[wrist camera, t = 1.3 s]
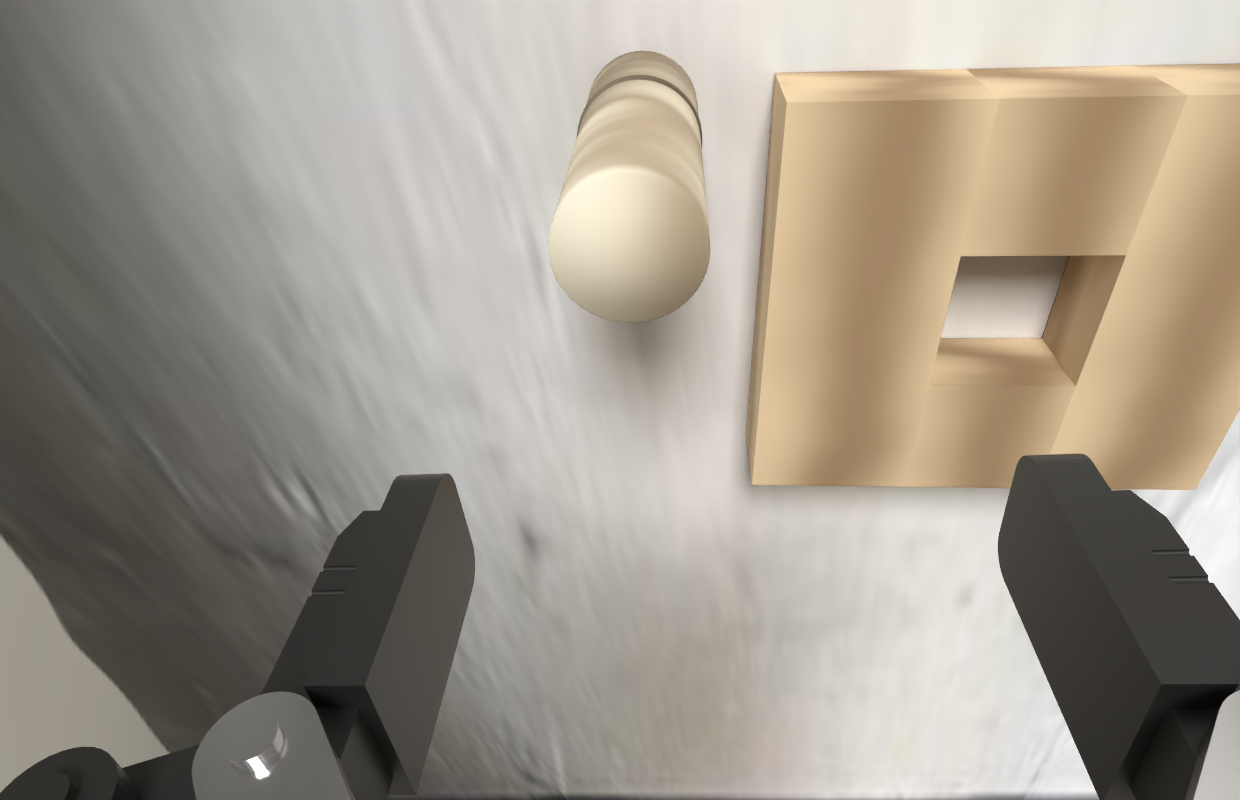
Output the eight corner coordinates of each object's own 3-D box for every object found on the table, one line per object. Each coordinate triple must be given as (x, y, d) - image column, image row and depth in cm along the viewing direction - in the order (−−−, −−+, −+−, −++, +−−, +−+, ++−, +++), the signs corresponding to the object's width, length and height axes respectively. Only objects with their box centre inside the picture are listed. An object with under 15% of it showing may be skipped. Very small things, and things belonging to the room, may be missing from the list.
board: (745, 434, 32) (751, 484, 30) (775, 72, 24) (787, 102, 21) (1154, 437, 31) (1195, 489, 29) (1335, 61, 23) (1413, 91, 20)
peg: (589, 164, 26) (552, 324, 18) (582, 50, 24) (538, 172, 16) (697, 163, 26) (709, 324, 17) (700, 47, 23) (716, 170, 15)
